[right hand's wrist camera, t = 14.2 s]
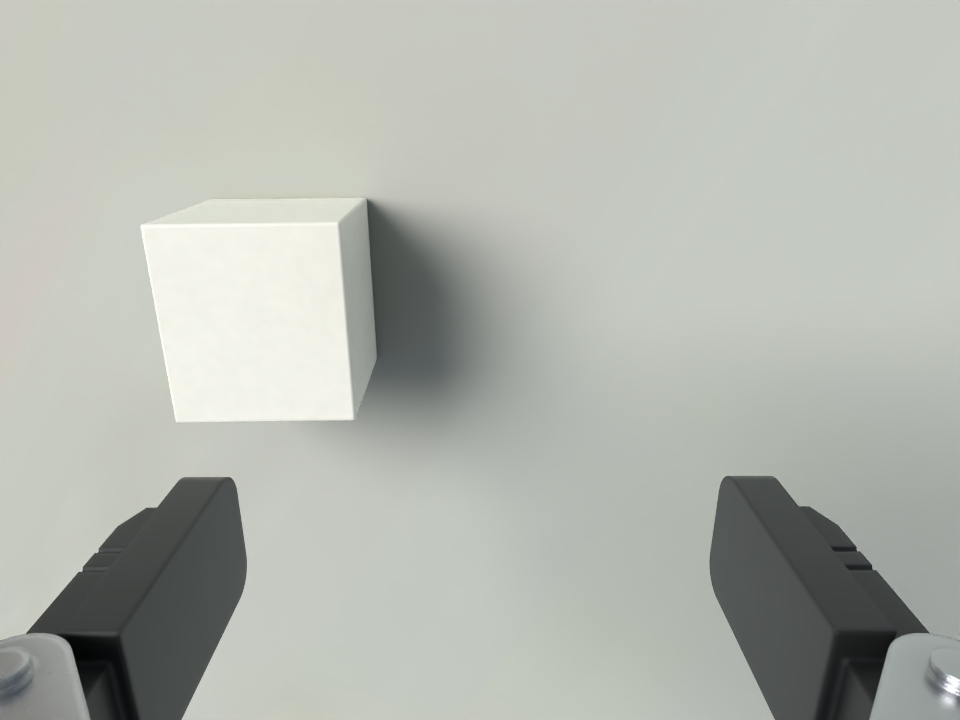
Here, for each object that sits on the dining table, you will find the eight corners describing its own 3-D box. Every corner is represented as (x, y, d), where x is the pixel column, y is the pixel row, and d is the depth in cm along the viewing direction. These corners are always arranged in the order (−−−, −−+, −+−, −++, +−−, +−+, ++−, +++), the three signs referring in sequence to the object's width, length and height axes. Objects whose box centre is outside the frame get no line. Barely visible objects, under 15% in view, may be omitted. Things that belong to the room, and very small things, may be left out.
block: (231, 362, 22) (175, 424, 18) (208, 198, 20) (138, 224, 16) (377, 360, 22) (355, 421, 18) (366, 197, 20) (339, 221, 16)
